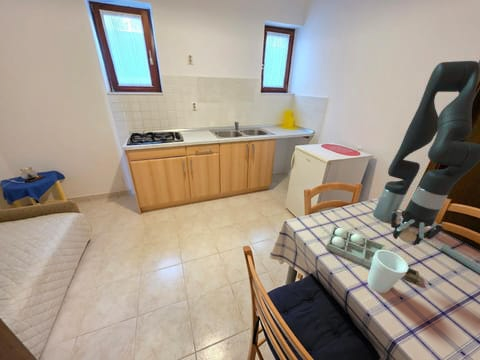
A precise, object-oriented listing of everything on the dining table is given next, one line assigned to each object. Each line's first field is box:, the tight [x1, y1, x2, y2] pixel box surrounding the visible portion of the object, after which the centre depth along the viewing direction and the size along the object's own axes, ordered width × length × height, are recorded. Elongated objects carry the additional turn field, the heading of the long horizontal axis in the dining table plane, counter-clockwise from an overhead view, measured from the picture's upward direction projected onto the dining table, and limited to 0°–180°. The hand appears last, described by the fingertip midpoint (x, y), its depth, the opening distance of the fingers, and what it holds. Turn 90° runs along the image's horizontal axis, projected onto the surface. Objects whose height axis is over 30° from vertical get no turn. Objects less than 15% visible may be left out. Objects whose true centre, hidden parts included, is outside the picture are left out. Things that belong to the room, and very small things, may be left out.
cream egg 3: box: [351, 233, 364, 245], centre depth 88 cm, size 5×5×5 cm
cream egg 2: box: [332, 237, 344, 248], centre depth 86 cm, size 5×5×5 cm
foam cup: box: [367, 249, 410, 294], centre depth 69 cm, size 10×9×13 cm
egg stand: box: [401, 267, 421, 285], centre depth 75 cm, size 5×5×2 cm
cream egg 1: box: [335, 227, 347, 239], centre depth 91 cm, size 5×5×5 cm
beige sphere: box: [398, 227, 417, 244], centre depth 70 cm, size 5×5×5 cm
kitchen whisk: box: [407, 226, 480, 275], centre depth 87 cm, size 6×34×6 cm, turn 27°
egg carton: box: [325, 226, 386, 269], centre depth 86 cm, size 14×21×3 cm
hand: (404, 240), depth 72 cm, fingers closed on beige sphere, 5 cm apart
